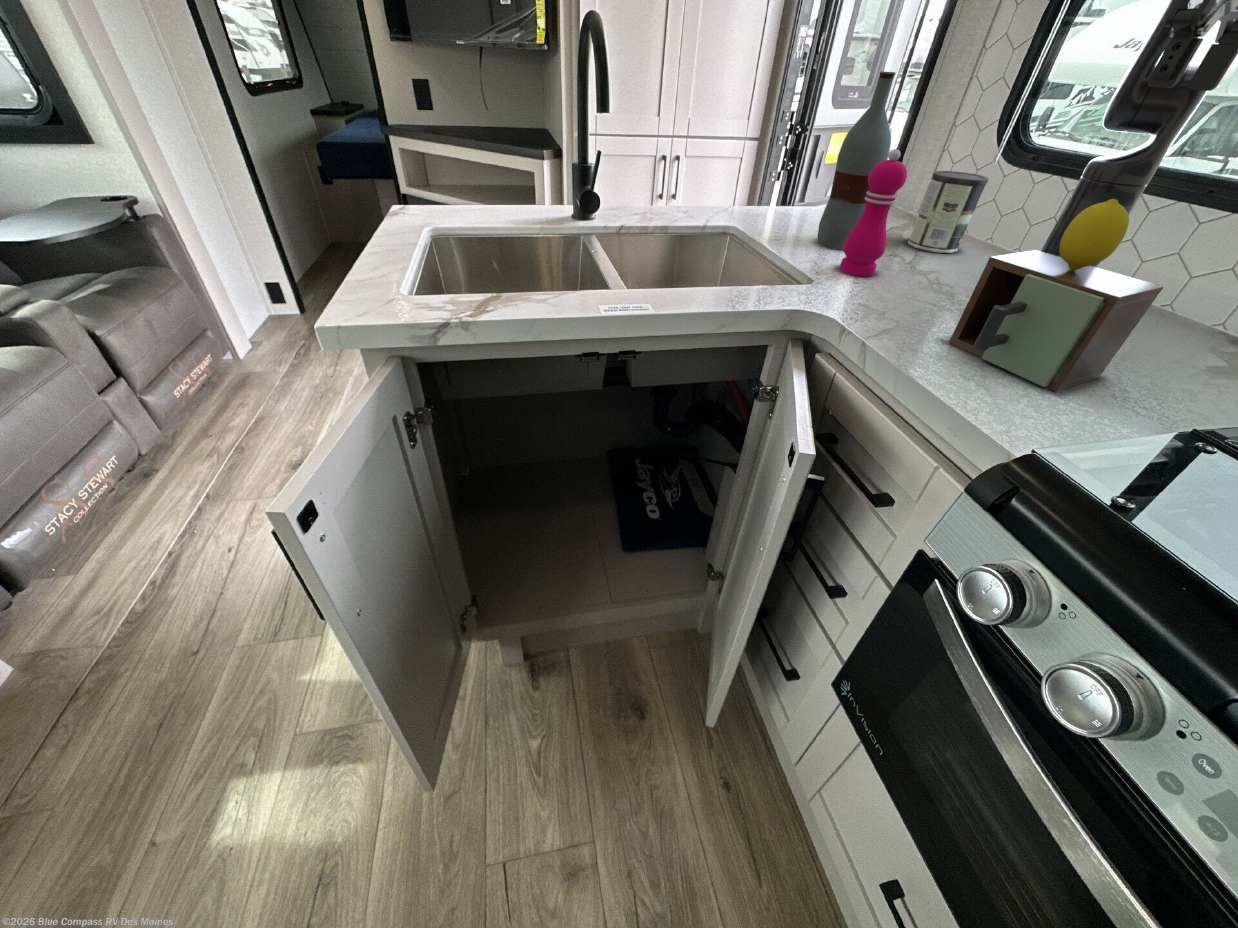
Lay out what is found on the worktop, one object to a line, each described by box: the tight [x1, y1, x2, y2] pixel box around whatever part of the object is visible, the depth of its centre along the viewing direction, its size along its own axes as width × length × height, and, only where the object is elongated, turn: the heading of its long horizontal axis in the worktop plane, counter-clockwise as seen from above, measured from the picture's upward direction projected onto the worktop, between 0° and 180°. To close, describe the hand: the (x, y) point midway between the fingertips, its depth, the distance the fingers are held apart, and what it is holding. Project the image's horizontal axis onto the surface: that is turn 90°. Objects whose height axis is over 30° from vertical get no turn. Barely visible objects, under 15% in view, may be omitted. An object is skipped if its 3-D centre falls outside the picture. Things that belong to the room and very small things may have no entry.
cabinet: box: [948, 249, 1164, 393], centre depth 67 cm, size 10×15×12 cm, turn 27°
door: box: [974, 274, 1105, 388], centre depth 62 cm, size 6×8×11 cm
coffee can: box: [907, 170, 990, 254], centre depth 110 cm, size 10×10×14 cm
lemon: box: [1059, 199, 1130, 271], centre depth 61 cm, size 6×6×8 cm
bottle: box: [817, 70, 897, 251], centre depth 102 cm, size 9×9×30 cm
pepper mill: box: [839, 148, 908, 277], centre depth 91 cm, size 7×7×20 cm
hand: (1180, 89), depth 52 cm, fingers open, 8 cm apart
